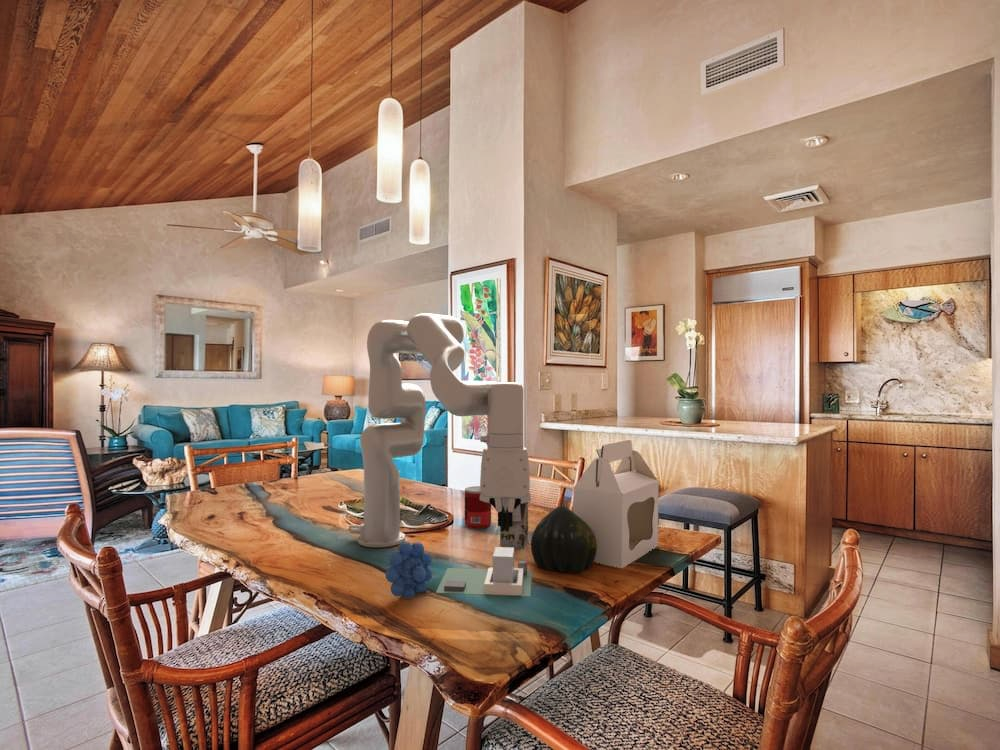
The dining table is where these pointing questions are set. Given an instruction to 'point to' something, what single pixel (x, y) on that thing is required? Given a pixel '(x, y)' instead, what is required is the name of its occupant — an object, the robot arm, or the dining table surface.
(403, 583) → the grapes
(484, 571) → the board
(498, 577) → the plug
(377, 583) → the dining table surface
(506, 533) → the coffee box
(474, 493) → the canned food
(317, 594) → the dining table surface
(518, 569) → the frame
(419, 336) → the robot arm
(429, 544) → the dining table surface
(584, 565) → the squash
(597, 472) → the gable box
